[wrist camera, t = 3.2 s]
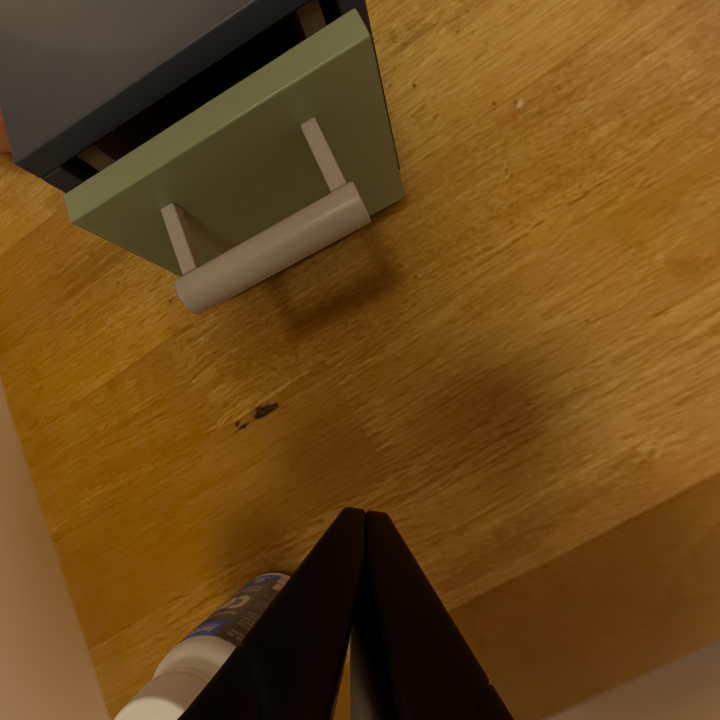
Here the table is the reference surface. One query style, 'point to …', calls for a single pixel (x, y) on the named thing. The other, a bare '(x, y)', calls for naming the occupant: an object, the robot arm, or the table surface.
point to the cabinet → (114, 66)
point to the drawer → (249, 160)
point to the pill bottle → (202, 653)
